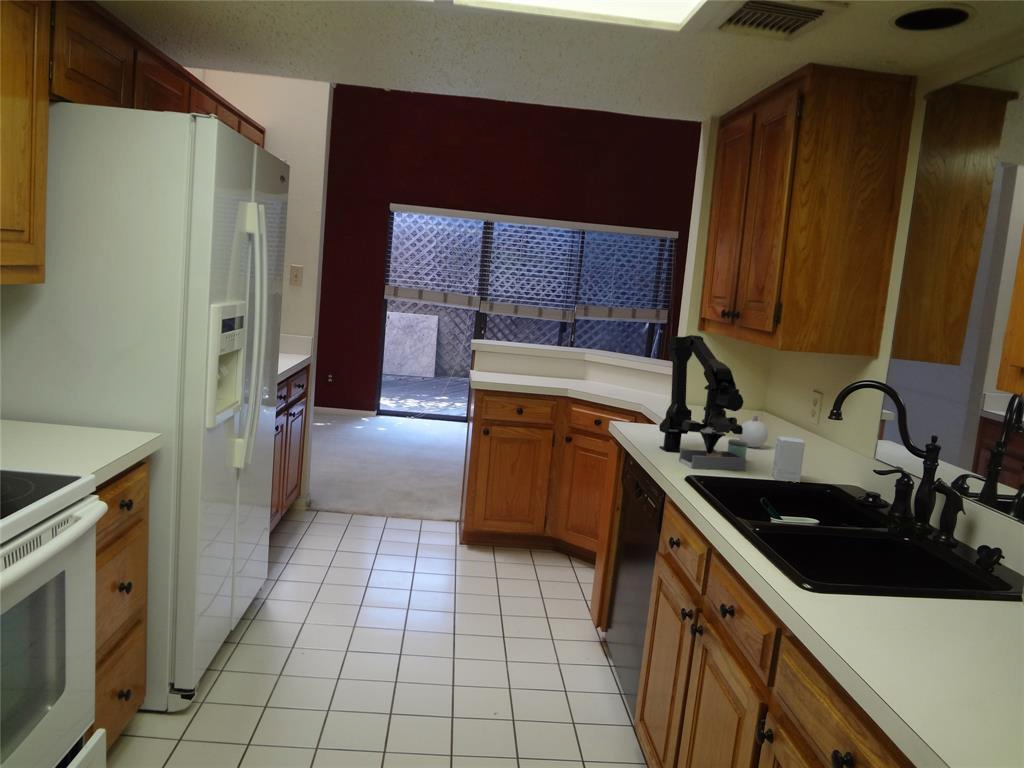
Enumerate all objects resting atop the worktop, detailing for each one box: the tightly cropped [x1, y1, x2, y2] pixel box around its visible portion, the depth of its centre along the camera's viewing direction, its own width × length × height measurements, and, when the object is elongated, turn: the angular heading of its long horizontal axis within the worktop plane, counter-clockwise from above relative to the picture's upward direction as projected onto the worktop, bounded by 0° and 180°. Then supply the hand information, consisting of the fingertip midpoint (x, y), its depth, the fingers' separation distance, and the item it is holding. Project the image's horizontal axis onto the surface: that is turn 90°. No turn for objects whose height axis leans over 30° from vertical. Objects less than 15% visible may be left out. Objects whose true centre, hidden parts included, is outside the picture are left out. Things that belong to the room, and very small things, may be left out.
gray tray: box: [678, 448, 747, 471], centre depth 245 cm, size 10×18×4 cm, turn 103°
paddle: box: [706, 448, 722, 457], centre depth 245 cm, size 7×2×5 cm, turn 13°
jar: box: [727, 438, 748, 458], centre depth 255 cm, size 6×6×7 cm
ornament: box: [738, 415, 769, 448], centre depth 285 cm, size 10×10×12 cm
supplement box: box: [771, 435, 806, 483], centre depth 235 cm, size 7×7×13 cm
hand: (709, 453), depth 244 cm, fingers closed
